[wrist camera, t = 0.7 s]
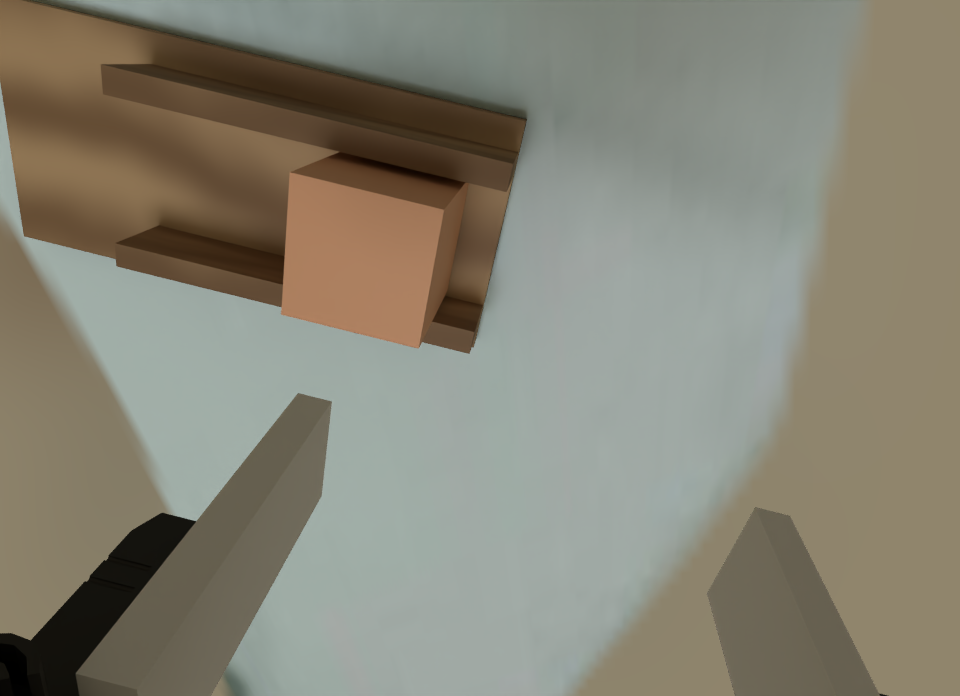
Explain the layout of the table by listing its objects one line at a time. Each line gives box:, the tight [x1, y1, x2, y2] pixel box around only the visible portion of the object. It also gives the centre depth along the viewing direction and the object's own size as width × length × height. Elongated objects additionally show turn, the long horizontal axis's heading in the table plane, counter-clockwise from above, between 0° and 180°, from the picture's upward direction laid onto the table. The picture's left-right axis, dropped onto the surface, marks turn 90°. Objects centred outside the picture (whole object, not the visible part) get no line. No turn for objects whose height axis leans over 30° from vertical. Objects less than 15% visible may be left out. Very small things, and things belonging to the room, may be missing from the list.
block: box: [281, 152, 469, 349], centre depth 27 cm, size 6×6×7 cm
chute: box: [0, 0, 527, 354], centre depth 29 cm, size 12×26×4 cm, turn 78°
